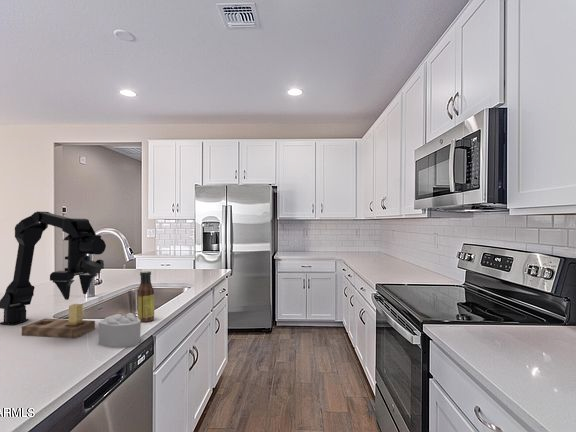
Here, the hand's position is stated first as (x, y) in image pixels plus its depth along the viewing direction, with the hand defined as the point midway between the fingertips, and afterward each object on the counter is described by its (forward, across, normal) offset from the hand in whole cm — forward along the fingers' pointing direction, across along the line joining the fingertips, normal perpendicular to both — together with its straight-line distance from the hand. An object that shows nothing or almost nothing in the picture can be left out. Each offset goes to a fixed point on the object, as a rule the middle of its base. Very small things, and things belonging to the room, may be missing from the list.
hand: (76, 296), depth 122 cm
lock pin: (+13, 0, 0) cm, 13 cm away
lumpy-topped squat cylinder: (+13, -6, -21) cm, 25 cm away
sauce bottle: (+13, +18, -17) cm, 28 cm away
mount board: (+13, 0, +6) cm, 14 cm away
